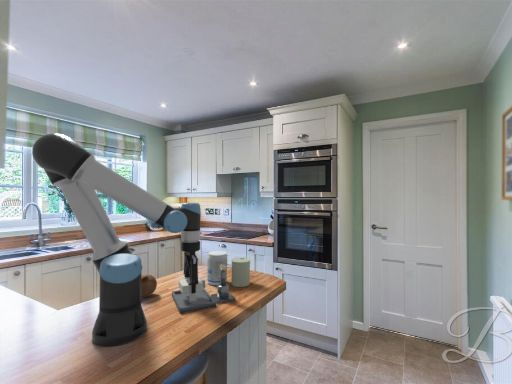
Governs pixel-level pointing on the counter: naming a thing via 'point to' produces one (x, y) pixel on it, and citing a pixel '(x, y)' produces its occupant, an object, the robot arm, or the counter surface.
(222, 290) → the metal post stand
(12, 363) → the counter surface
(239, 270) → the can
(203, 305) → the tray
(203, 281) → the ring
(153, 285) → the onion
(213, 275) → the supplement tub
